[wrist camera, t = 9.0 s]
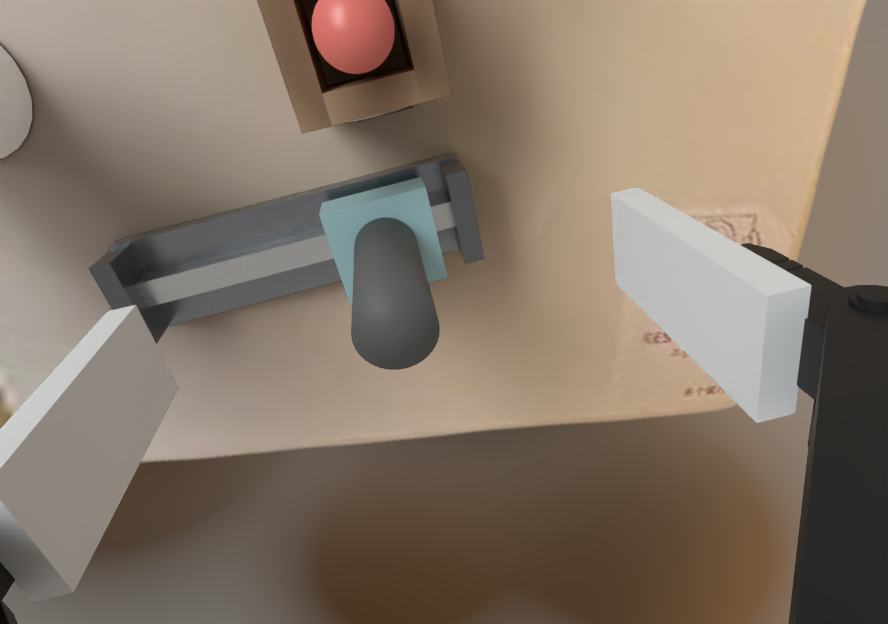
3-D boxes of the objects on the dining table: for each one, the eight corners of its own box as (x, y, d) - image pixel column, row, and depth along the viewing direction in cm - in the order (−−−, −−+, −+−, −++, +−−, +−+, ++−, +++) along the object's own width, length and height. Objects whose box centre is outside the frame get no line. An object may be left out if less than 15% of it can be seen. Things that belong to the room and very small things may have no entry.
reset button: (332, 75, 26) (327, 82, 22) (309, -1, 25) (300, -7, 21) (397, 58, 26) (403, 62, 22) (378, -18, 25) (382, -28, 21)
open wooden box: (320, 121, 33) (307, 149, 25) (273, -26, 30) (241, -46, 22) (432, 92, 33) (455, 110, 26) (399, -58, 30) (414, -90, 22)
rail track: (159, 321, 38) (137, 353, 34) (116, 240, 35) (86, 265, 31) (472, 239, 38) (484, 261, 34) (454, 152, 35) (465, 166, 32)
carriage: (350, 281, 36) (345, 404, 24) (323, 198, 33) (301, 291, 21) (440, 257, 36) (479, 368, 24) (419, 173, 33) (452, 251, 22)
